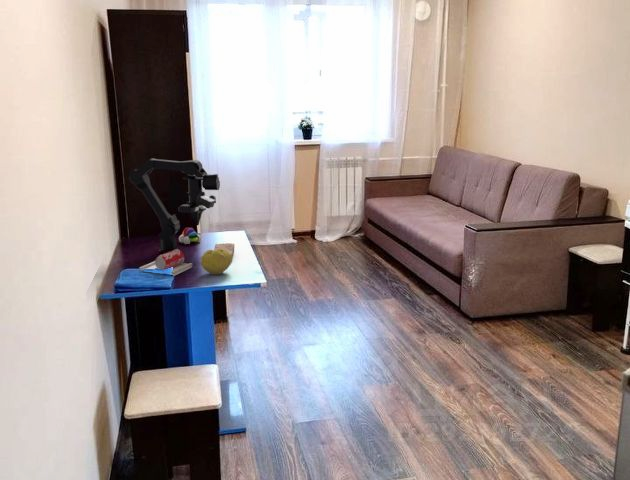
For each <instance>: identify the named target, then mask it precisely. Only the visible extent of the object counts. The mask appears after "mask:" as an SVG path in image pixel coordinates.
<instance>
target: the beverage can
mask: <svg viewBox="0 0 630 480" xmlns="http://www.w3.org/2000/svg"><path fill="white" fill-rule="evenodd" d="M154 261H155V265H156V267H157V268H158V269H160V270H162V269H168V268H171V267H174V266H177V265H179V264H181V263H185V262H184V261H185V255H184V252H183V251H182V250H181V249H179V248H178V249H176V250H173V251H170V252H167V253H166V252H163V254H160V255H158V256H157V257H156V258H155V260H154Z"/></svg>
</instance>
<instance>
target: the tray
mask: <svg viewBox="0 0 630 480" xmlns="http://www.w3.org/2000/svg"><path fill="white" fill-rule="evenodd" d="M193 267H194V266H193V263H192V262H190V263H185V262H183V263H181V264H179V265H177V266H174V267H173V271H172V272H171V273H172V274H173V276H172V277H175V276H176V275H179V274H180V273H183V272H185V271H187V270H189V269H191V268H193ZM155 268H157V267H156V265H155V260H154V261H151V262H150V263H148V264H144V265H141V266H140V267H139V268H138V269H139V270H143V269H155ZM139 270H138V271H139Z"/></svg>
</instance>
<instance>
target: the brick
mask: <svg viewBox="0 0 630 480" xmlns="http://www.w3.org/2000/svg"><path fill="white" fill-rule="evenodd" d="M213 248H214V249H212V250H213V251H214V250H216V249H224V250H226V251H228V252H229V253H230V255H231V258H232V259H231V263H232V262H233V258H234V254H235V243H229V242H228V243H227V242H226V243H225V242H224V243H216V244H215V245H214V247H213Z"/></svg>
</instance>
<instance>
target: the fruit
mask: <svg viewBox="0 0 630 480" xmlns="http://www.w3.org/2000/svg"><path fill="white" fill-rule="evenodd" d="M213 250H214V249H208V250H206V251H205V252H204V253H203V255H201V259H200V264H201V265H200V266H201V268H202V269H203V270H204V271H206V272H207V273H209V274H211V275H213V276H214V275H215V276H216V275H217V276H219V275H221V274H223V273H224V272H225V271H226V270H228V268H229V267H230V266H231V264H232V262H231V259H232V258H231V255H230V253H229V252H228V251H226V250H224V249H216V250H214V251H213ZM232 260H233V259H232Z"/></svg>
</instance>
